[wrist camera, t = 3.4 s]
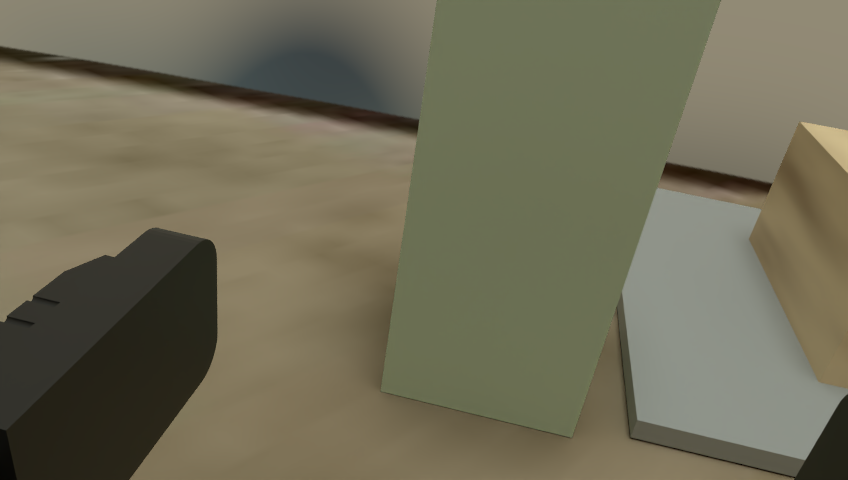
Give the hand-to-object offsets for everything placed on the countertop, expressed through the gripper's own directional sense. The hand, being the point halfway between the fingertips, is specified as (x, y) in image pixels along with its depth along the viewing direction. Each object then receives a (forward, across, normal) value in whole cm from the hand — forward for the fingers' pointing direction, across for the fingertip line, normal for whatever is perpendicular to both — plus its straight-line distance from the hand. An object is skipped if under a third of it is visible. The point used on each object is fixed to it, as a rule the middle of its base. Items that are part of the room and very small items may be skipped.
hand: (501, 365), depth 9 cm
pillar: (+9, 0, +7) cm, 11 cm away
